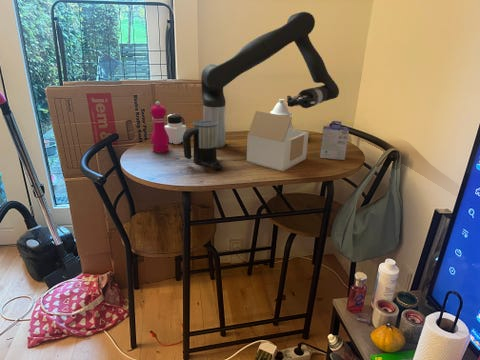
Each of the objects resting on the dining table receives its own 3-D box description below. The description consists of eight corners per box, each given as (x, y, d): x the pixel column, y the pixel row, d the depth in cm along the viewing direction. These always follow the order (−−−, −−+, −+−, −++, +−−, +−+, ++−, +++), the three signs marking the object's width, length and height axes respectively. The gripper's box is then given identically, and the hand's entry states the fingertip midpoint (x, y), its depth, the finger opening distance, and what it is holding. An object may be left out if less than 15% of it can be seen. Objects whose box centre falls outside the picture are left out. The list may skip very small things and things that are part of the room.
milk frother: (203, 155, 141) (202, 118, 135) (236, 163, 133) (237, 124, 128) (179, 165, 130) (178, 126, 124) (215, 174, 122) (215, 133, 116)
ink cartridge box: (344, 156, 144) (349, 121, 139) (345, 160, 139) (350, 124, 134) (319, 154, 146) (324, 119, 140) (319, 158, 141) (324, 122, 135)
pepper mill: (154, 153, 141) (150, 103, 133) (149, 148, 147) (146, 100, 139) (171, 151, 144) (169, 102, 136) (166, 146, 150) (164, 99, 142)
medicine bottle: (186, 141, 158) (186, 114, 153) (176, 144, 153) (174, 117, 148) (175, 138, 162) (173, 112, 157) (164, 141, 156) (162, 115, 151)
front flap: (283, 142, 122) (283, 141, 122) (248, 134, 130) (248, 133, 130) (292, 117, 123) (291, 117, 122) (256, 111, 131) (255, 110, 130)
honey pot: (293, 141, 163) (297, 101, 155) (266, 140, 163) (268, 100, 156) (290, 133, 174) (293, 96, 167) (264, 132, 174) (266, 95, 167)
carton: (283, 172, 126) (286, 142, 122) (245, 161, 135) (246, 133, 131) (307, 158, 140) (310, 132, 135) (271, 150, 149) (272, 124, 145)
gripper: (296, 86, 149) (275, 92, 136) (326, 90, 142) (306, 95, 129) (295, 104, 152) (274, 111, 139) (324, 108, 145) (304, 116, 132)
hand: (289, 103), depth 134 cm, fingers closed
